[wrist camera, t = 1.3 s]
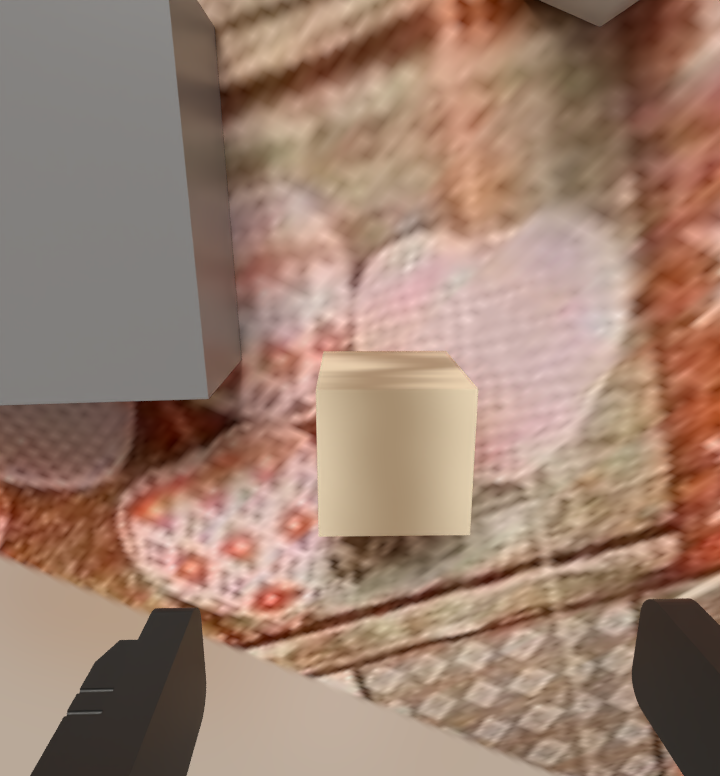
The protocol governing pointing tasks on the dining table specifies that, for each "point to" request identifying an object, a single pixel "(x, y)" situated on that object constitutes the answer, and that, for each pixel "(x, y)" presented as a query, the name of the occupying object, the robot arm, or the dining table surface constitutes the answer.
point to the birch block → (394, 444)
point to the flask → (592, 9)
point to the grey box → (113, 204)
